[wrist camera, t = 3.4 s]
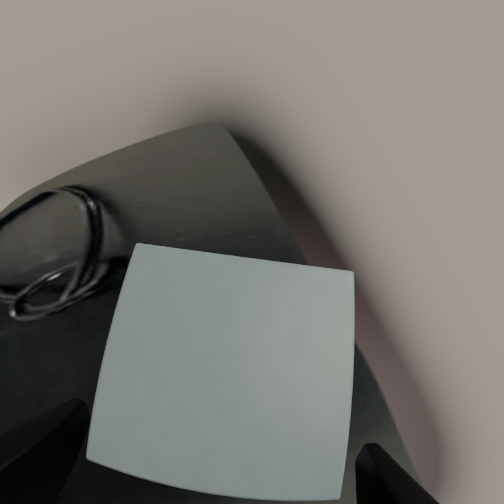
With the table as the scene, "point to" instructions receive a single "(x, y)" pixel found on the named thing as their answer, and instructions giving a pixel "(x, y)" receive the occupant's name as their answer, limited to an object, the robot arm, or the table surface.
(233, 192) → the table surface
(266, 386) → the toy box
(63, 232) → the table surface
